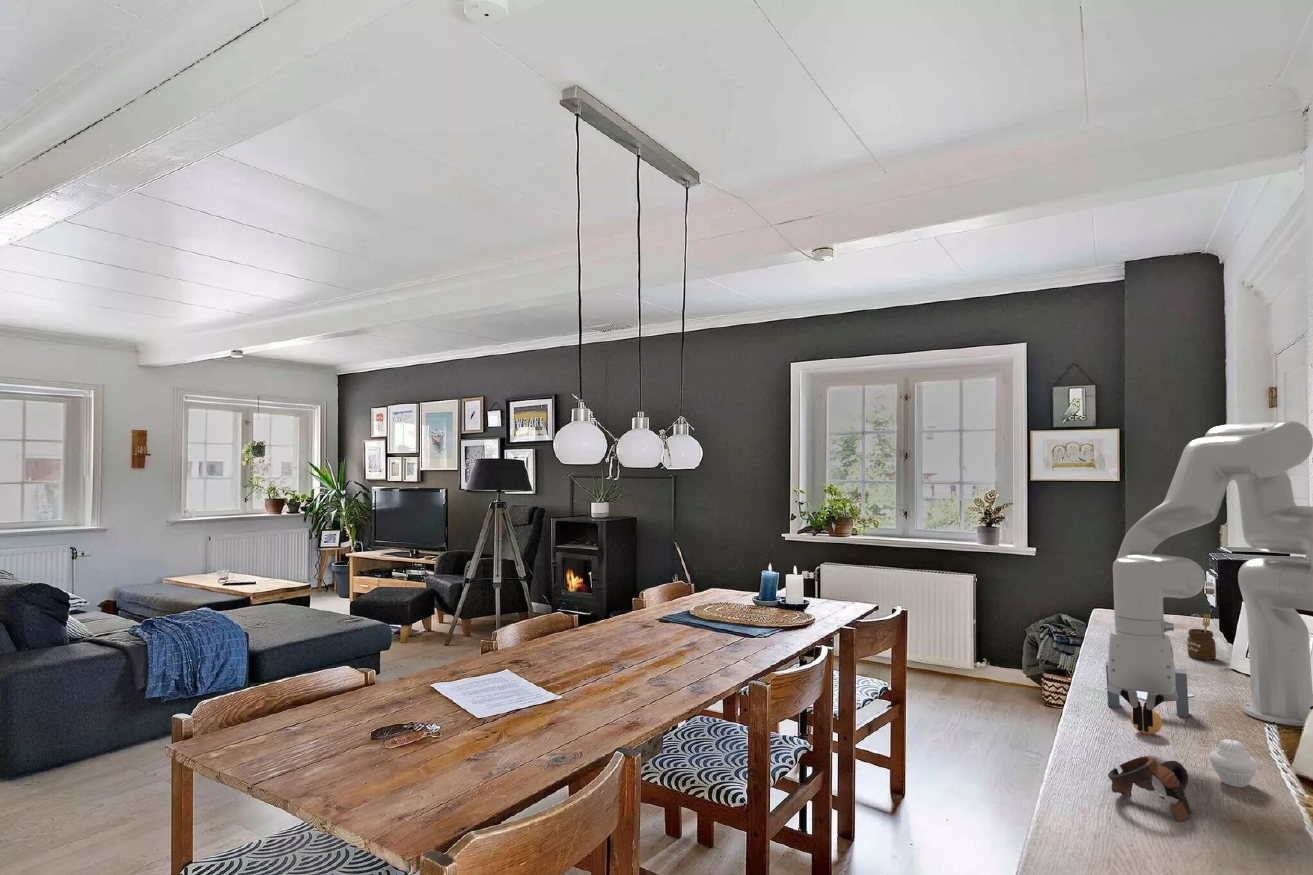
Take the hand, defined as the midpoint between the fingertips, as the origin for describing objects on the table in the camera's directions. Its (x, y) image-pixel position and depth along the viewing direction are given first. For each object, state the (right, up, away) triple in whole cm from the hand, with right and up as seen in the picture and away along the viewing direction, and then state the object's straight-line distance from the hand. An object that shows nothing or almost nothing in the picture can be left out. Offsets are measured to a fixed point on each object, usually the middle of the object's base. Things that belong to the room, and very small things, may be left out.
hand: (1143, 729), depth 132 cm
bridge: (+15, -4, +21) cm, 26 cm away
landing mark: (+23, -5, +33) cm, 40 cm away
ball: (+6, -2, +8) cm, 10 cm away
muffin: (+5, -3, -14) cm, 15 cm away
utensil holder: (+55, -5, +59) cm, 81 cm away
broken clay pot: (-12, -4, -21) cm, 24 cm away
